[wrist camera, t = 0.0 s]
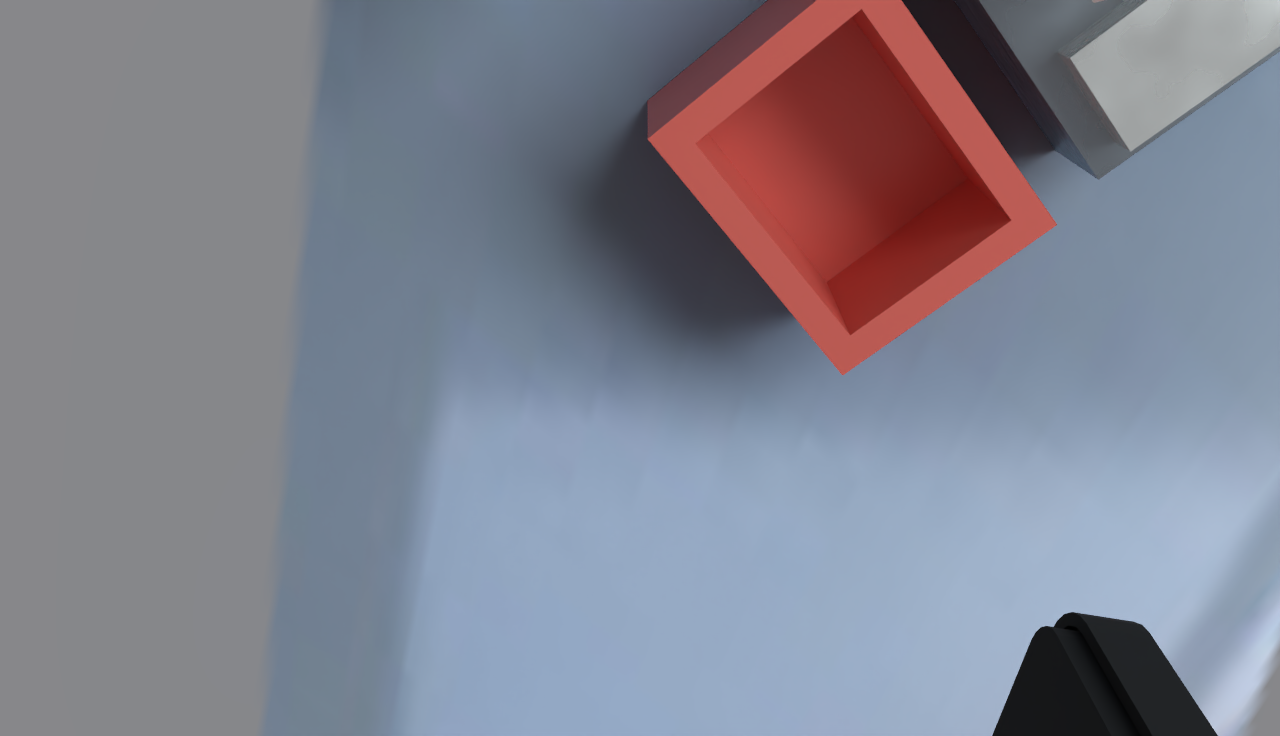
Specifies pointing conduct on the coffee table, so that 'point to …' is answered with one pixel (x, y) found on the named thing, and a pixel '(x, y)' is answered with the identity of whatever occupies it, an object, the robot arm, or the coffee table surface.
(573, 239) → the coffee table surface
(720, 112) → the box
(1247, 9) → the breaker board
